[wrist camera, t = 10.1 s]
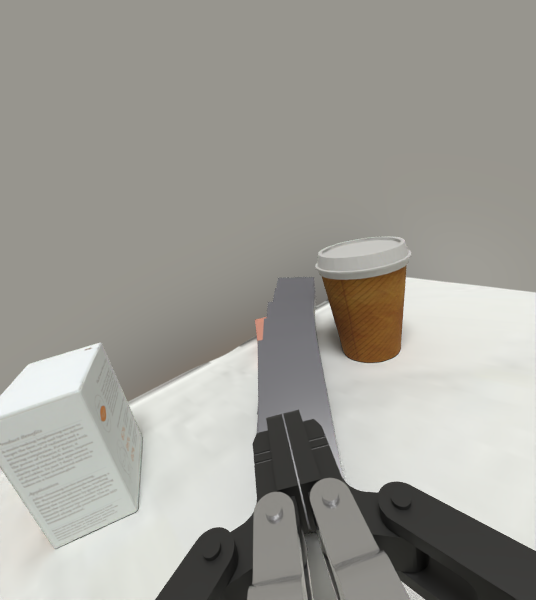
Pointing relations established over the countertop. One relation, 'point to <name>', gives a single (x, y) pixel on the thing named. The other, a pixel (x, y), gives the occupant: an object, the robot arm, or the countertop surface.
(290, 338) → the domino
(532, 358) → the countertop surface
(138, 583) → the countertop surface
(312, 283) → the domino
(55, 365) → the small box
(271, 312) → the domino
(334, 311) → the disposable coffee cup
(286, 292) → the domino
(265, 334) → the domino
